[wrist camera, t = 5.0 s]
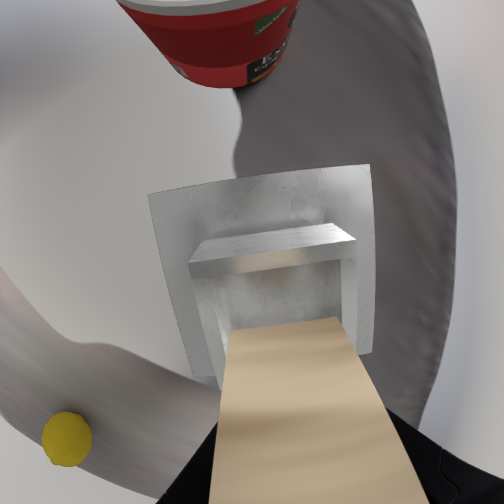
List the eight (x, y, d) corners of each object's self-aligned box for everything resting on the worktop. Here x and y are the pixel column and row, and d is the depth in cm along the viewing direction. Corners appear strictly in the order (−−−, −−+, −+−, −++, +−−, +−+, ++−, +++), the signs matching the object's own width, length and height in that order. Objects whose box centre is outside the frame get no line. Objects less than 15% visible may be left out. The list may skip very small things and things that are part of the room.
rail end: (335, 392, 11) (390, 576, 3) (245, 405, 12) (241, 599, 3) (336, 316, 10) (446, 545, 2) (229, 330, 10) (200, 590, 2)
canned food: (274, 102, 17) (301, 22, 6) (155, 85, 16) (66, 18, 6) (294, 11, 15) (326, -92, 4) (184, -2, 14) (140, -97, 4)
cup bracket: (366, 344, 22) (397, 395, 15) (196, 368, 22) (182, 426, 16) (362, 164, 18) (411, 164, 12) (153, 193, 18) (109, 205, 12)
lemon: (109, 433, 25) (86, 484, 18) (74, 427, 26) (50, 472, 18) (88, 400, 24) (57, 453, 16) (53, 395, 24) (21, 440, 16)
